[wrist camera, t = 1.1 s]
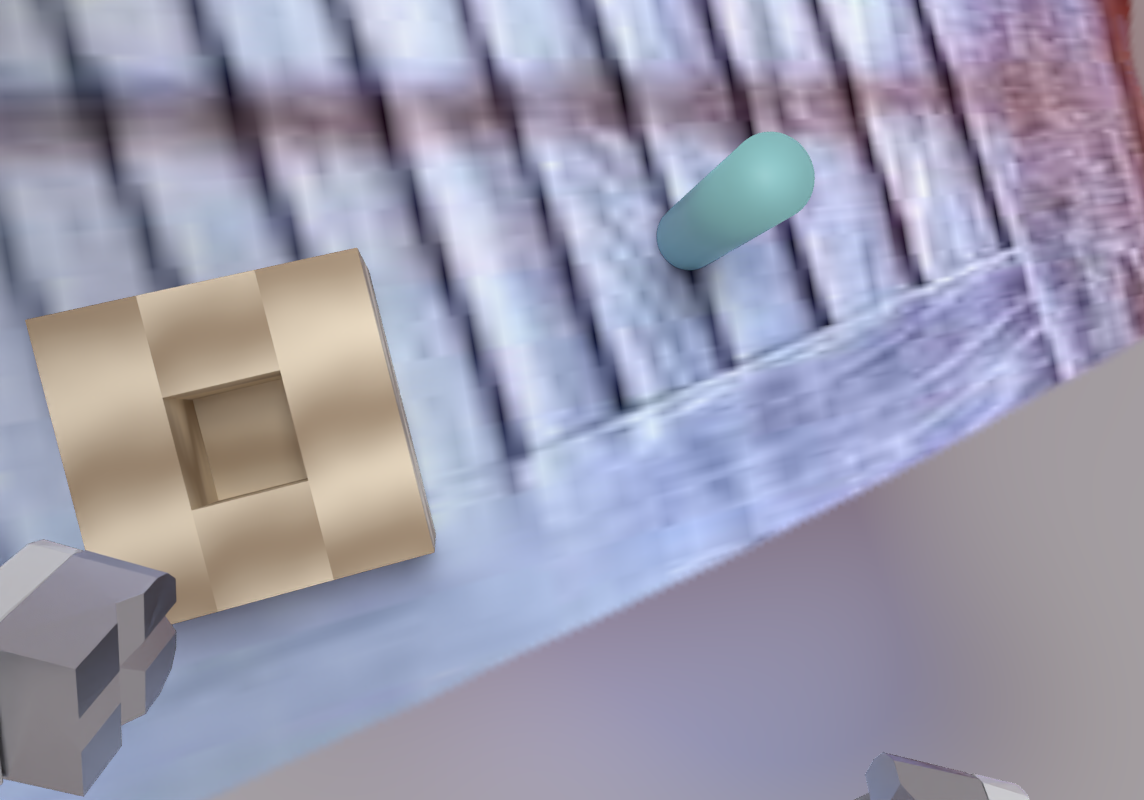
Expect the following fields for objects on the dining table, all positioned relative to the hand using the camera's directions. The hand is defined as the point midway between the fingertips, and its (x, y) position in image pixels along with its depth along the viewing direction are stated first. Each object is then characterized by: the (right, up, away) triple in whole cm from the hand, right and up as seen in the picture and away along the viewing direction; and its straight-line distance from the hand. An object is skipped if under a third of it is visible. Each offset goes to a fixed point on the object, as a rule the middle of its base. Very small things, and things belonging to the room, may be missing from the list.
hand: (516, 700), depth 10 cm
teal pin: (+7, +12, +37) cm, 39 cm away
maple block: (-15, +2, +33) cm, 37 cm away
